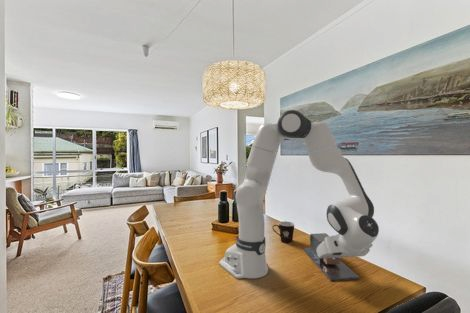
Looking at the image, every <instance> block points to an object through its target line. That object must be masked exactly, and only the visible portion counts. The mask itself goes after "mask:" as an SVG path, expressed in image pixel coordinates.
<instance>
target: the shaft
mask: <svg viewBox="0 0 470 313" xmlns="http://www.w3.org/2000/svg"><path fill="white" fill-rule="evenodd" d="M323 261H324V262H325V263H326V264H340V261H341V258H340V259H333V258H323Z"/></svg>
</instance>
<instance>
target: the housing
mask: <svg viewBox="0 0 470 313" xmlns="http://www.w3.org/2000/svg"><path fill="white" fill-rule="evenodd" d="M309 235H310V237H309V239H310V241H309V245H310V246H309V247H304V248H302V250H303V252H304V253H305V254H306V255H307V256H308V258H310V260H311V261H312V262H313V263H314V264H315V265H316V266H317V267H318V269H319V270H320V272H322V273H323V274H324V275H325V276H326V278H327V279H328V280H329V281H330V282H335V281H336V282H337V281H353V280H354V281H356V280H360V276H359V275H358V274H357V273H356V272H354V271H353V270H352V269H351V268H350V267H349V266H347V265H346V264H345V263H344V262H343V261H341V260H340V264H326V263H325V262H324V261H323V258H319V257H318V255H317V251H316V249H317V247H318V246H319V245H320V244H321V243H322V242H323V241H325V238H326V237H329V236H330V235H329V234H327V233H325V232H323V233H310V234H309Z"/></svg>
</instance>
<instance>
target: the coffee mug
mask: <svg viewBox="0 0 470 313" xmlns="http://www.w3.org/2000/svg"><path fill="white" fill-rule="evenodd" d="M274 227H277V229H278V230H279V232H277V231H276V230H275V228H274ZM271 228H272V230H273V232H274V233H275V234H277V235H278V236H279V237H280V241H281V243H283V244H292V243H293V241H294V240H293V237H294V232H295V223H294V222H291V221H287V220H286V221H280V222H278V224H274V225H272V227H271Z"/></svg>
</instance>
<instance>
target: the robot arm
mask: <svg viewBox="0 0 470 313" xmlns="http://www.w3.org/2000/svg"><path fill="white" fill-rule="evenodd" d="M294 140H301V141H302V142H303V143H304V145H305V147H306V151H307V154H308V158H309V161H310V163H311V165H312V166H313V168H315V169H316V170H318V171H320V172H323V173H329V174H331V173H332V174H335V175H337V176H339V177H340V179H341V181H342V183H343V184H344V187H345V189H346V191H347V193H348V197H347V198H345V199H343V200H340V201H337V202H335V203H332V204H330V205H328V206H327V209H326V219H327V222H328V224H329V225H330V227H331V228H332V229H333V230H334V231H335V232H336V233H337V234H333V235H329V237H326V238H325V241H323V242H322V243H321V244H320V245H319V246H318V247H317V249H316V251H317V255H318V257H319V258H333V259H340V260H341V259H343V258H355V257H356V258H357V257H365V256H366V255H368V254H369V253H370V251H371V248H372V247H373V242H374V241H376V239H377V237H379V236H378V235H379V232H380V227H379V225H378V222H377V221H376V219H374V218H373V217H374V216H375V215H374V214H375V206H374V203H373V202H372V200H371V199H370V197H369V196H368V195H367V193H366V192H365V191H366V190H365V189H364V187H363V185H362V183H361V181H360V178H359V176H358V174H357V173H356V170H355V168H354V167H353V165H352V163H351V161H350V160H349V159H347V158H345V156H344V155H343V154H342V153H341V152H340V150H339V147H338V144H337V142H336V139H335V137H334V134H333V132H332V130H331V128H330V127H329V125H328V124H327V123H326V122H324V121H314V122H312V121H311V120H310V119H309V118H308V117H306V116H305V115H304V113H302V112H300V111H298V110H296V109H289V110H286V111H284V112H283V113H282V114H281V115H280V116H279V118H278V120H277V122H276V123H270V122H266V123H262V124H261V125H260V126H259V127H258V130H257V131H256V134H255V137H254V139H253V141H252V145H251V147H250V151H249V155H248V158H247V162H246V170H245V174H244V178H243V179H244V180H243V182H242V183H241V184H240V185H239V186H238V187H237V189H236V191H235V196H234V197H235V202H236V210H237V216H238V217H237V218H238V235H237V236H235V237H234V239H233V240H234V241H235V243H234V244H233V245H231V246H229V248H227V249H226V251H225V253H224V257H223V258H221V259H220V261H219V265H220V266H221V267H222V268H223V269H224V270H225V271H227V272H228V273H229V274H231V275H232V276H233V277H234V278H235V279H259V278H260V279H261V278H262V277H264V276H266V275H267V274H268V273H269V268H268V264H267V258H266V257H267V256H266V237H265V212H264V198H265V197H266V194H267V190H268V186H269V183H270V179H271V176H272V172H273V168H274V165H275V162H276V159H277V155H278V151H279V149H280V145H281V143H282V142H283V141H294Z"/></svg>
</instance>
